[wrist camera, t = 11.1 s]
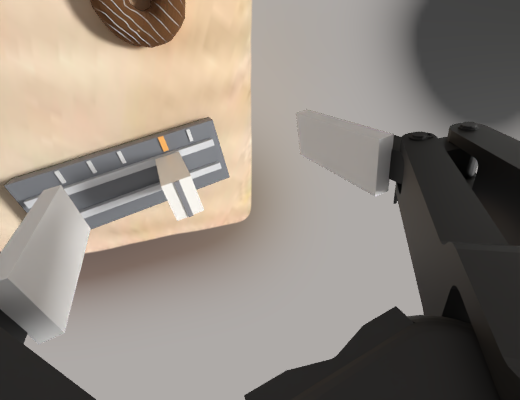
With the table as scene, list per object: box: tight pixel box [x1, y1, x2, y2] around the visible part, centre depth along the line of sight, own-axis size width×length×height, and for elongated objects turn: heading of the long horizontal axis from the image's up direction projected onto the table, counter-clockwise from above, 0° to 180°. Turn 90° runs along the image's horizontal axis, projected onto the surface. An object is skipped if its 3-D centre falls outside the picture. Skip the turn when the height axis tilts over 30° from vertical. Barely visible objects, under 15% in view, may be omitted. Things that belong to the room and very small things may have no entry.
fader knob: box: [155, 151, 204, 221], centre depth 35 cm, size 5×4×11 cm
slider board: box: [4, 117, 229, 230], centre depth 39 cm, size 10×28×3 cm, turn 103°
